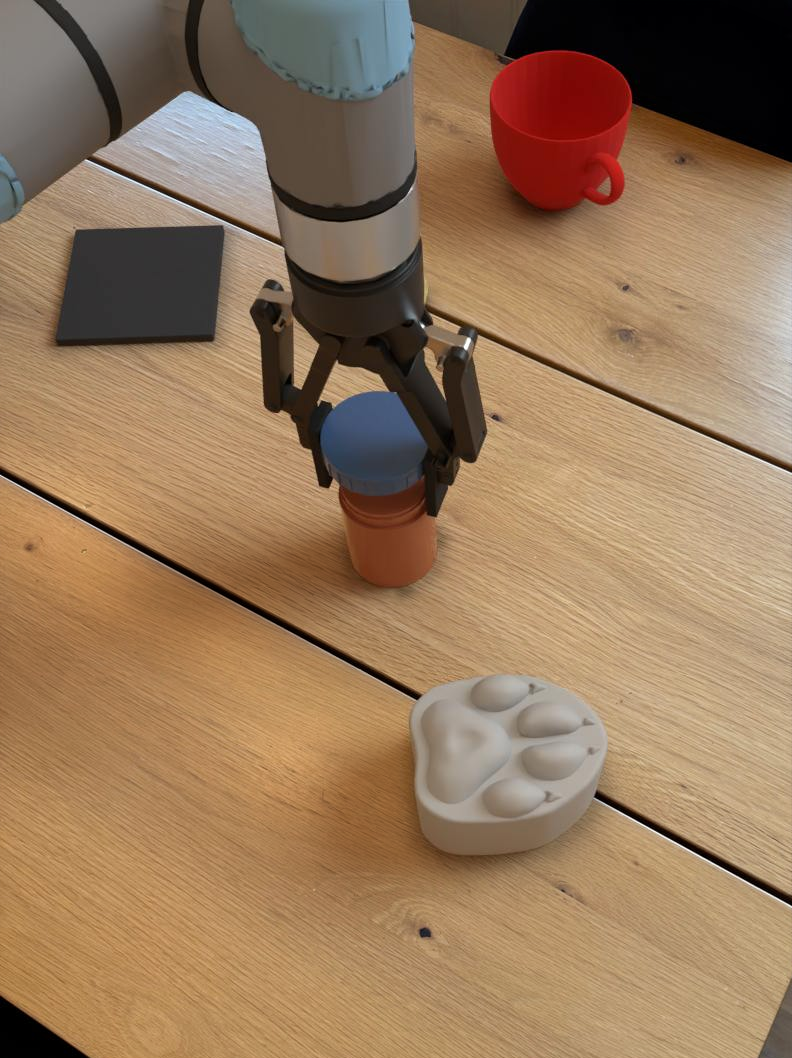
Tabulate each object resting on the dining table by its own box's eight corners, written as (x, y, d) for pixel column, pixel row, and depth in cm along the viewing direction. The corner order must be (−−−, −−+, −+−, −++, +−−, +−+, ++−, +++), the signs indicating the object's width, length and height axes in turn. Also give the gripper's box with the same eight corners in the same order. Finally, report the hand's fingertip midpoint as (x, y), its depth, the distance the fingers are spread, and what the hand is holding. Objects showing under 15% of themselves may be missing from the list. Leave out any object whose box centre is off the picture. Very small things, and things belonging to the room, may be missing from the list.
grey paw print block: (410, 724, 77) (403, 672, 70) (585, 706, 78) (597, 653, 70) (423, 862, 72) (416, 823, 65) (609, 842, 73) (624, 801, 65)
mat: (57, 345, 94) (54, 339, 94) (78, 235, 101) (75, 229, 100) (214, 340, 95) (212, 334, 94) (224, 231, 101) (223, 224, 100)
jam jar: (349, 589, 83) (334, 521, 74) (350, 515, 86) (336, 441, 77) (438, 585, 83) (433, 517, 74) (436, 512, 86) (431, 438, 78)
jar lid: (449, 423, 74) (449, 406, 73) (412, 509, 71) (411, 494, 69) (346, 395, 75) (344, 378, 74) (305, 479, 72) (301, 463, 70)
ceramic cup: (552, 277, 98) (559, 187, 90) (464, 170, 105) (463, 76, 96) (667, 230, 101) (685, 137, 92) (575, 128, 108) (583, 34, 99)
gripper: (553, 232, 57) (532, 482, 77) (206, 154, 60) (273, 415, 80) (514, 331, 54) (502, 565, 74) (148, 243, 56) (234, 492, 77)
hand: (383, 487), depth 77 cm, fingers closed on jar lid, 8 cm apart
